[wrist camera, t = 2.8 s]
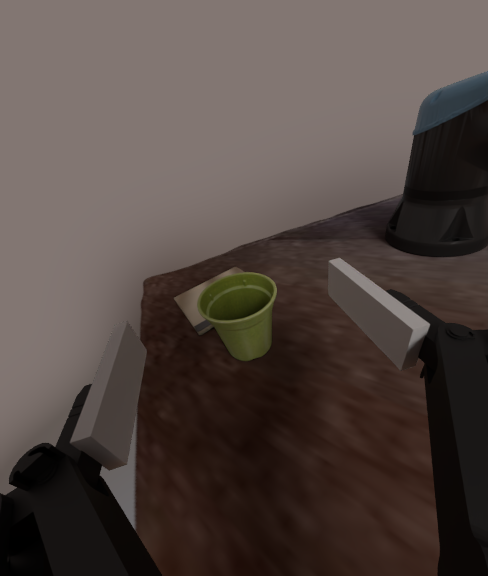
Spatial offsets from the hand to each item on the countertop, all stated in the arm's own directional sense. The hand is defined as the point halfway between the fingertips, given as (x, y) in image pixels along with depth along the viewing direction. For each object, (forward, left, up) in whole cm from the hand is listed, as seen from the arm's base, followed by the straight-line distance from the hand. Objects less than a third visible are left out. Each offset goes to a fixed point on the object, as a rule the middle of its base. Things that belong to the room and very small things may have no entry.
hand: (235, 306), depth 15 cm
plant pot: (-4, -9, -15) cm, 18 cm away
